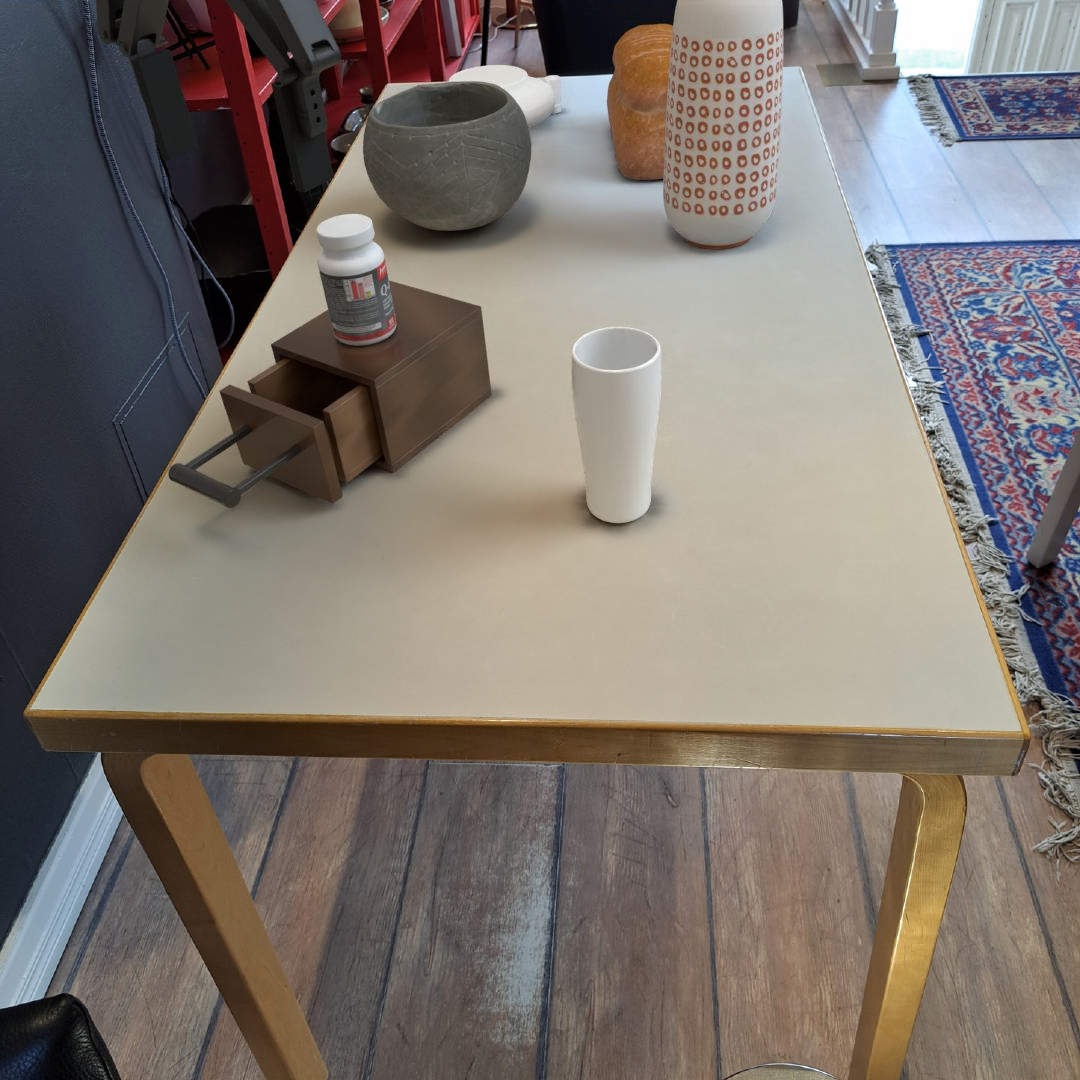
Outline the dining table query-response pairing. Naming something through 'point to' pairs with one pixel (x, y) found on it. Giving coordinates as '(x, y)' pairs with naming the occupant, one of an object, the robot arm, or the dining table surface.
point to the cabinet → (407, 367)
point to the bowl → (448, 153)
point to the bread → (640, 100)
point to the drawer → (292, 433)
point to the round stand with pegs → (519, 89)
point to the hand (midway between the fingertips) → (245, 168)
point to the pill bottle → (355, 280)
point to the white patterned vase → (723, 119)
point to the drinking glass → (617, 418)
